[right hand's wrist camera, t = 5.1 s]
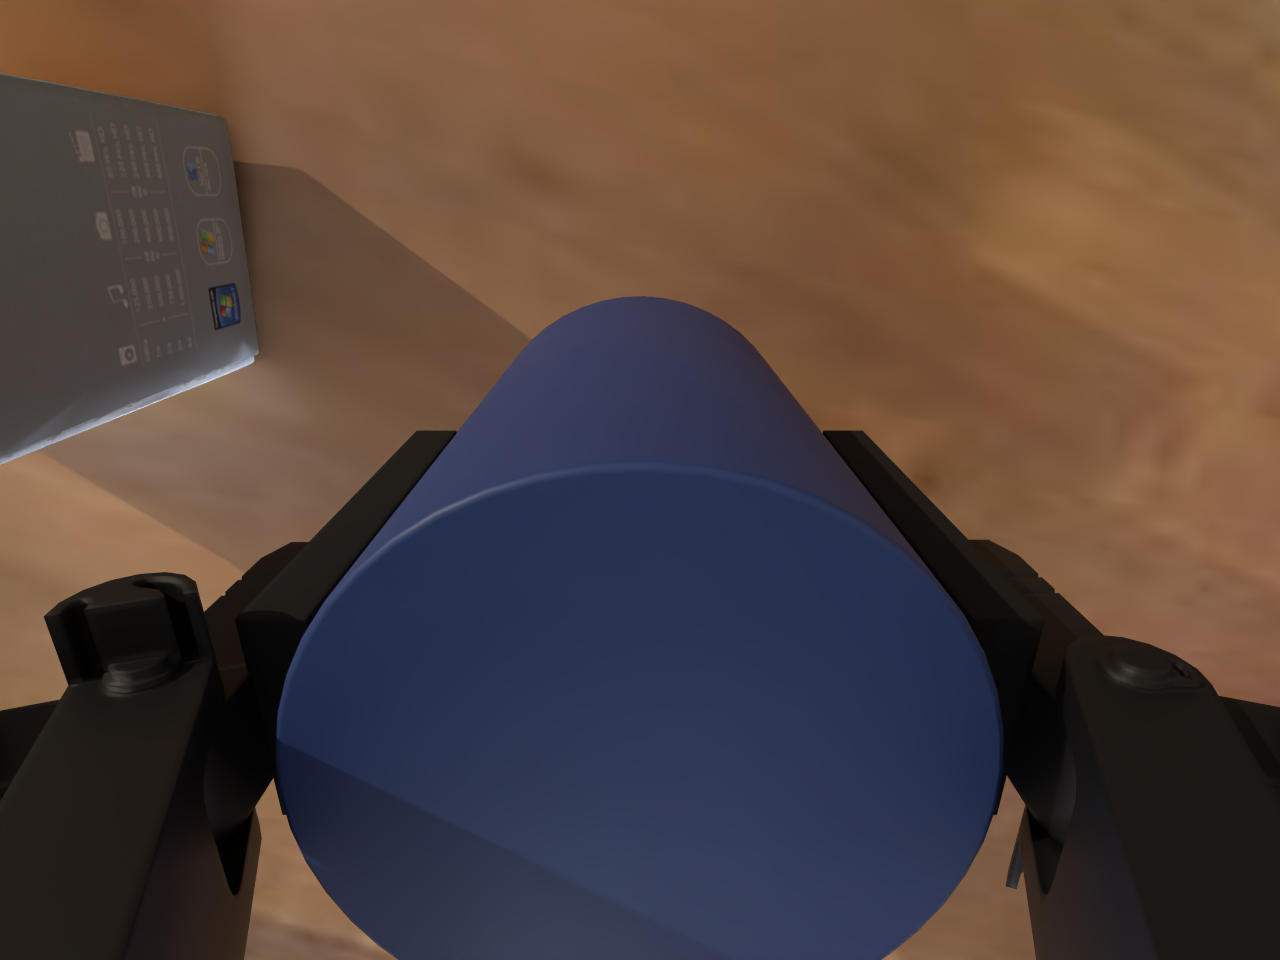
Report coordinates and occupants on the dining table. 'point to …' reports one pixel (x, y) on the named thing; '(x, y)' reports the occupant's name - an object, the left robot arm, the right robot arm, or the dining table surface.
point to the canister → (639, 679)
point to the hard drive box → (112, 259)
